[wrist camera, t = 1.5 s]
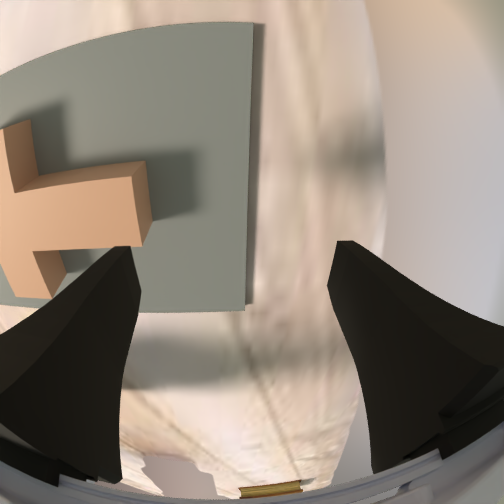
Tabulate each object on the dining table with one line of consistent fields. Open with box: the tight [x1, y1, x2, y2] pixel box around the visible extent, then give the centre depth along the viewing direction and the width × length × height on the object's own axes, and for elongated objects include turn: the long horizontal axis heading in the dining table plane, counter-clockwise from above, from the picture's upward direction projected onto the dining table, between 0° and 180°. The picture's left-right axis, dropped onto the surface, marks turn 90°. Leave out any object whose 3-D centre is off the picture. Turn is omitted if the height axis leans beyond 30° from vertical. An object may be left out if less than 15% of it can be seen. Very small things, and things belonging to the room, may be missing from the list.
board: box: [0, 22, 254, 313], centre depth 15 cm, size 20×34×1 cm, turn 88°
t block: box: [0, 119, 153, 299], centre depth 14 cm, size 12×12×3 cm
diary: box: [238, 480, 303, 499], centre depth 79 cm, size 23×19×6 cm
